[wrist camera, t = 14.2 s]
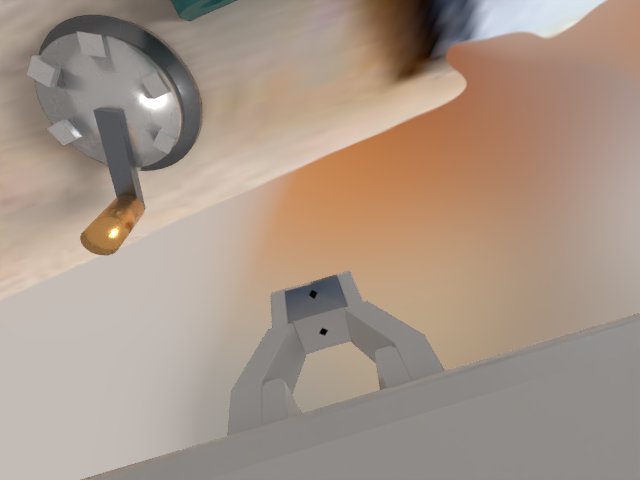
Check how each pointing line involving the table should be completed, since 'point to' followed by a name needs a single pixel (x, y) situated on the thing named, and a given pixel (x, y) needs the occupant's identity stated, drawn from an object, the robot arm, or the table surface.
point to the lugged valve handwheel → (109, 118)
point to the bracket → (197, 7)
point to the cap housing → (158, 51)
